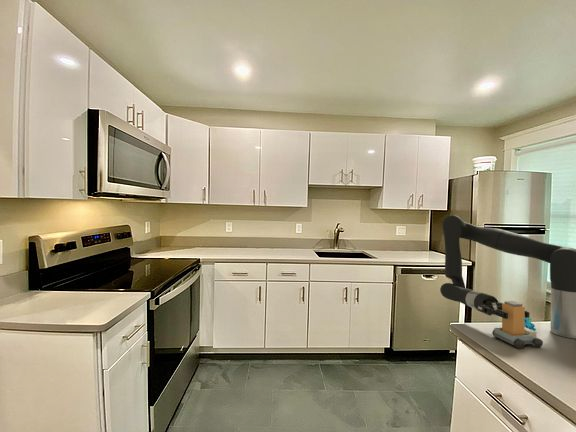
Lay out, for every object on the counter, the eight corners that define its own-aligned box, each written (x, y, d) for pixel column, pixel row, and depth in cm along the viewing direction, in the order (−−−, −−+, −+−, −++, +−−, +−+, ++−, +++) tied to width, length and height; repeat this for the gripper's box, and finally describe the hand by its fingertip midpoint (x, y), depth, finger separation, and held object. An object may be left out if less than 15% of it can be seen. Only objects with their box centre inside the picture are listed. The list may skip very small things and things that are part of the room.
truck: (517, 335, 111) (517, 324, 111) (543, 347, 101) (543, 334, 101) (491, 337, 109) (491, 325, 109) (515, 349, 99) (515, 336, 99)
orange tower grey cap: (501, 333, 107) (502, 301, 107) (512, 333, 107) (513, 300, 107) (513, 339, 102) (513, 304, 102) (524, 338, 103) (524, 304, 103)
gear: (529, 331, 111) (509, 307, 117) (515, 338, 114) (497, 314, 121) (543, 331, 115) (524, 307, 122) (530, 337, 119) (511, 314, 126)
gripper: (465, 293, 118) (500, 305, 102) (497, 292, 120) (535, 304, 104) (465, 311, 118) (500, 327, 102) (496, 310, 120) (535, 325, 104)
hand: (518, 315), depth 103 cm, fingers open, 8 cm apart
